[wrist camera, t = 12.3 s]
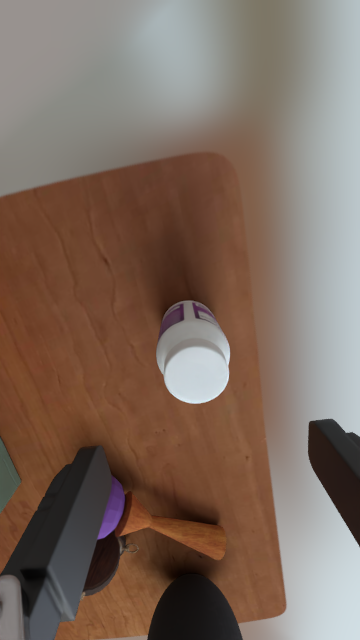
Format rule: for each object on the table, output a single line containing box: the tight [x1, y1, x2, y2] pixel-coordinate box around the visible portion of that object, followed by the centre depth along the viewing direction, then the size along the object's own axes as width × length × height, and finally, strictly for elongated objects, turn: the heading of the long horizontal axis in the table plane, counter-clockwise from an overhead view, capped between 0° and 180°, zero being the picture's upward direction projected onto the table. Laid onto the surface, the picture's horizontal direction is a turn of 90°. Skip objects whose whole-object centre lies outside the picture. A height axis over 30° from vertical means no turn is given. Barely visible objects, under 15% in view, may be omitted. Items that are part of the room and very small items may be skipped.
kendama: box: [97, 475, 226, 560], centre depth 28 cm, size 6×6×20 cm
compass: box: [81, 529, 139, 600], centre depth 29 cm, size 8×8×7 cm
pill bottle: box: [156, 301, 230, 403], centre depth 18 cm, size 5×5×10 cm
